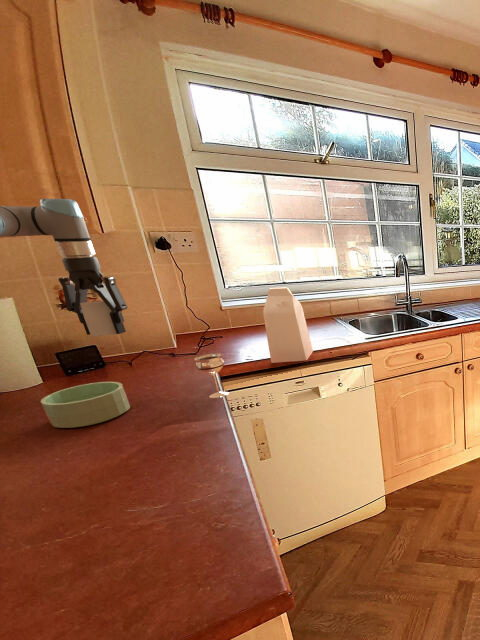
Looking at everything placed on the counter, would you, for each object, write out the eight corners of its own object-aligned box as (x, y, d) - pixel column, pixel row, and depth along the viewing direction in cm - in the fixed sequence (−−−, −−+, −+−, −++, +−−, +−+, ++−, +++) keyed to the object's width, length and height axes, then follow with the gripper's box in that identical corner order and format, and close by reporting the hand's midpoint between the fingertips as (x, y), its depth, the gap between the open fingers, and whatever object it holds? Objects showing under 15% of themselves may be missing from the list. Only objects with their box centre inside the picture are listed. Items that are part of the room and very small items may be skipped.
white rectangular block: (120, 333, 131) (109, 301, 128) (91, 337, 128) (78, 304, 124) (122, 331, 134) (111, 299, 130) (93, 334, 130) (81, 302, 127)
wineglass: (234, 389, 131) (224, 352, 127) (228, 397, 125) (217, 359, 121) (209, 392, 129) (198, 354, 125) (202, 400, 123) (190, 361, 119)
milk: (313, 351, 167) (300, 285, 158) (306, 360, 157) (292, 289, 147) (280, 353, 165) (265, 286, 156) (271, 362, 155) (254, 291, 145)
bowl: (34, 431, 106) (22, 406, 103) (86, 405, 120) (76, 382, 118) (100, 428, 107) (90, 403, 105) (144, 403, 122) (136, 380, 119)
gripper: (126, 255, 127) (150, 329, 135) (52, 255, 125) (81, 331, 133) (107, 257, 120) (133, 335, 128) (27, 258, 118) (59, 337, 126)
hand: (106, 333), depth 131 cm, fingers closed on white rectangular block, 8 cm apart
